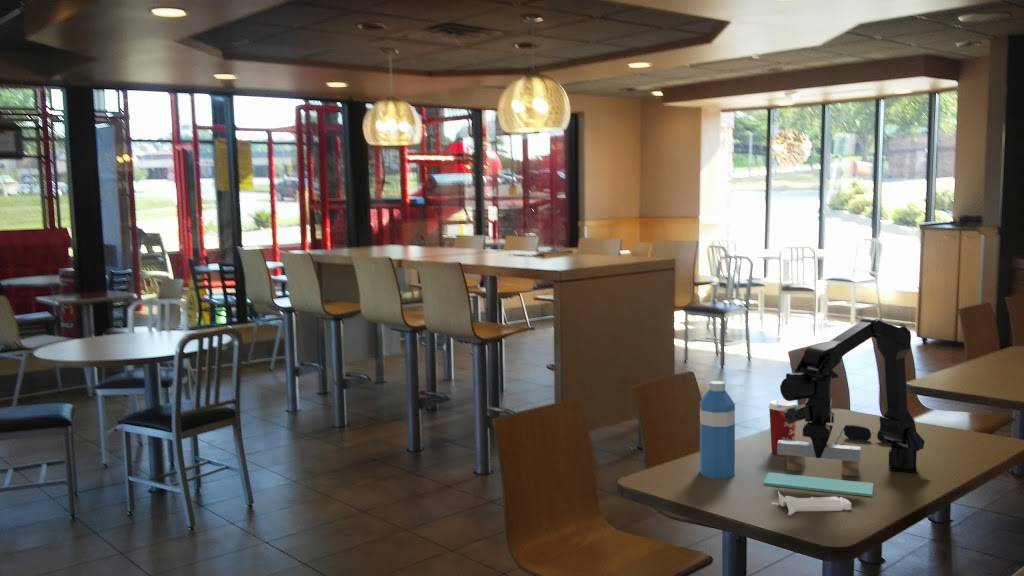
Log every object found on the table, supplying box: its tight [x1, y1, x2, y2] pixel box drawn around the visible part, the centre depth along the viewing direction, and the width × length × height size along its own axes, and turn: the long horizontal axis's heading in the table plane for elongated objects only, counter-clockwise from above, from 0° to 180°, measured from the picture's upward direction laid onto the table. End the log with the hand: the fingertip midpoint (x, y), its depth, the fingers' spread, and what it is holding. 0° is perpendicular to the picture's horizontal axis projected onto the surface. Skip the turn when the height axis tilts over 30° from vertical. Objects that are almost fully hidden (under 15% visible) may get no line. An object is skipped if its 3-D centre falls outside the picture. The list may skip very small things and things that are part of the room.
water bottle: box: [699, 380, 736, 479], centre depth 234 cm, size 9×9×25 cm
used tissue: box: [771, 489, 852, 516], centre depth 206 cm, size 11×18×4 cm, turn 80°
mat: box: [763, 472, 874, 497], centre depth 224 cm, size 26×9×1 cm, turn 66°
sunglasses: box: [834, 424, 886, 445], centre depth 256 cm, size 17×15×5 cm
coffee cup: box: [767, 399, 798, 457], centre depth 252 cm, size 8×8×15 cm
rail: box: [777, 440, 862, 463], centre depth 223 cm, size 20×3×3 cm, turn 66°
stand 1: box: [786, 440, 806, 472], centre depth 239 cm, size 4×6×6 cm, turn 156°
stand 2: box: [841, 444, 860, 477], centre depth 234 cm, size 4×6×6 cm, turn 156°
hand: (818, 456), depth 223 cm, fingers closed on rail, 3 cm apart
